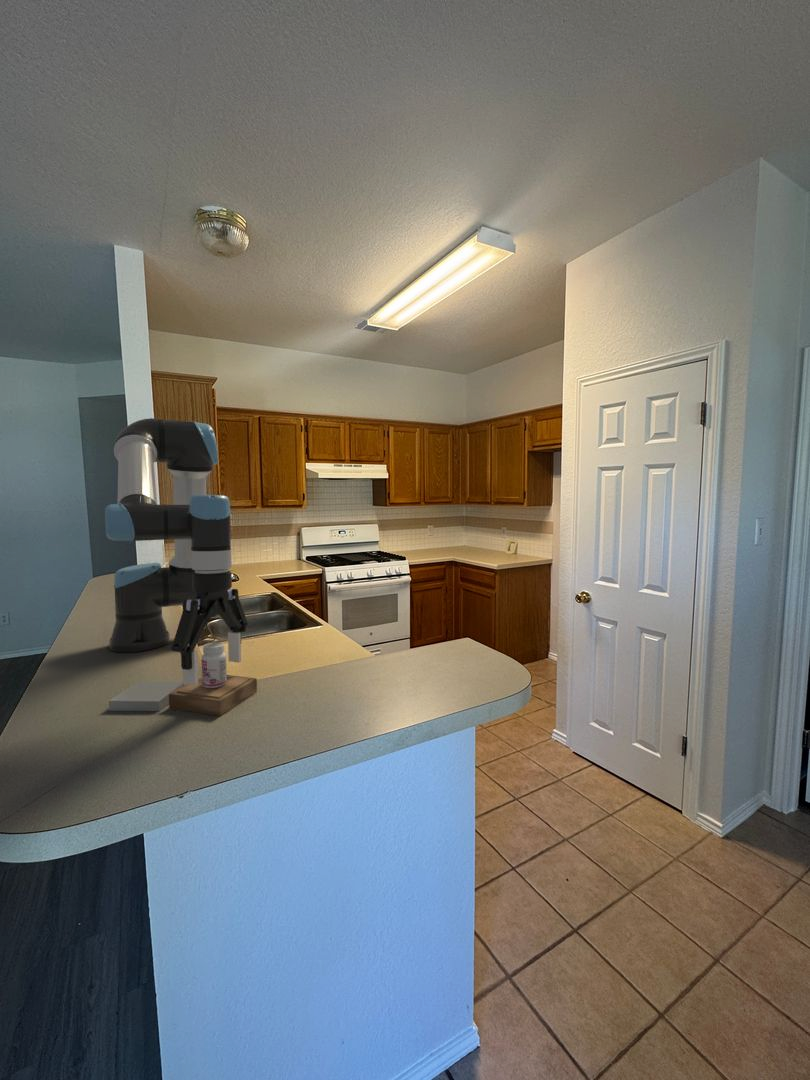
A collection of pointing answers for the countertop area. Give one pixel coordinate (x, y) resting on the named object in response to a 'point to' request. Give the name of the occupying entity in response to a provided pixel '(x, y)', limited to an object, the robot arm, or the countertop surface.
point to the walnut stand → (213, 696)
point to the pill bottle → (214, 665)
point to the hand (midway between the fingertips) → (214, 672)
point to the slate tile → (144, 696)
